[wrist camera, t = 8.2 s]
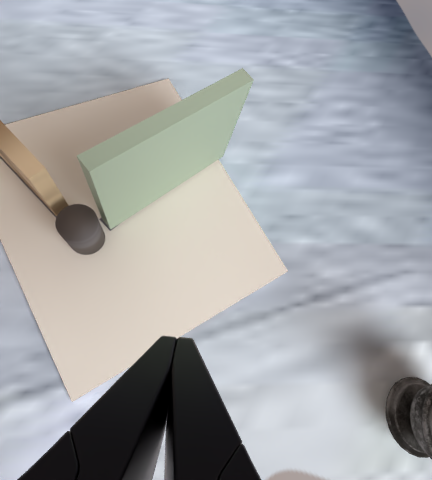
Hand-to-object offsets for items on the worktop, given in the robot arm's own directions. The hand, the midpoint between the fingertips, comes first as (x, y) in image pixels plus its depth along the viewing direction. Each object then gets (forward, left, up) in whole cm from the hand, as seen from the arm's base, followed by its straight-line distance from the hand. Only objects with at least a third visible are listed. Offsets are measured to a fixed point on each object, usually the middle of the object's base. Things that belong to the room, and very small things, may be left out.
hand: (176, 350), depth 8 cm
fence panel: (+6, +10, -13) cm, 17 cm away
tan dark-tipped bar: (-2, +13, -13) cm, 18 cm away
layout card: (+2, +10, -13) cm, 16 cm away
